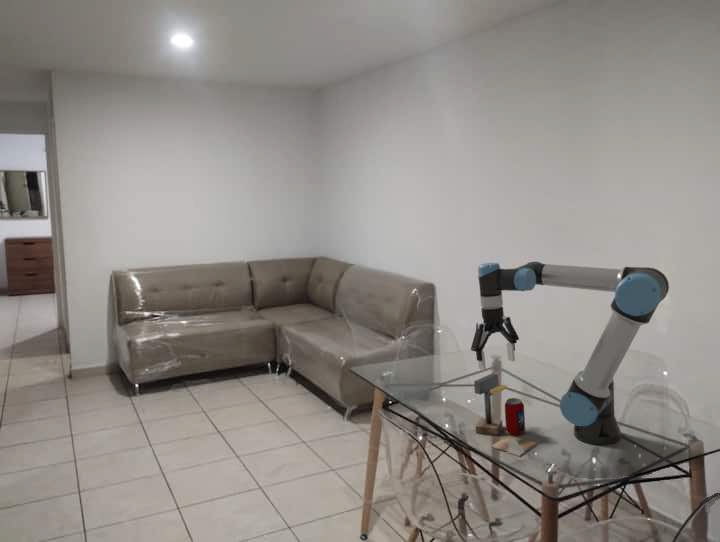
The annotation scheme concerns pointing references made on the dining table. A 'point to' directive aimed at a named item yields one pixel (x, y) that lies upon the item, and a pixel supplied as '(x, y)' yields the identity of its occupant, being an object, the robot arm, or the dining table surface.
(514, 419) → the beverage can
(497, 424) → the latch housing
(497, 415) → the dining table surface
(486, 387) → the t key
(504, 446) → the mat
